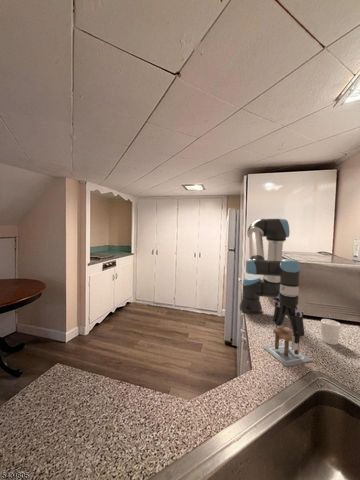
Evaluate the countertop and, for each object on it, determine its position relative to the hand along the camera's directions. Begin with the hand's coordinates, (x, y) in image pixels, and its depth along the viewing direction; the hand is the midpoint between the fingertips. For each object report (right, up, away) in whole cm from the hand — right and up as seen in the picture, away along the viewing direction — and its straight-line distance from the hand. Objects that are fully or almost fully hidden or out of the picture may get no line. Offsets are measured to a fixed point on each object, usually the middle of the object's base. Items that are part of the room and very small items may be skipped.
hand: (286, 344), depth 91 cm
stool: (0, -3, 0) cm, 3 cm away
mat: (0, -5, 0) cm, 5 cm away
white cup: (+28, -5, +12) cm, 31 cm away
